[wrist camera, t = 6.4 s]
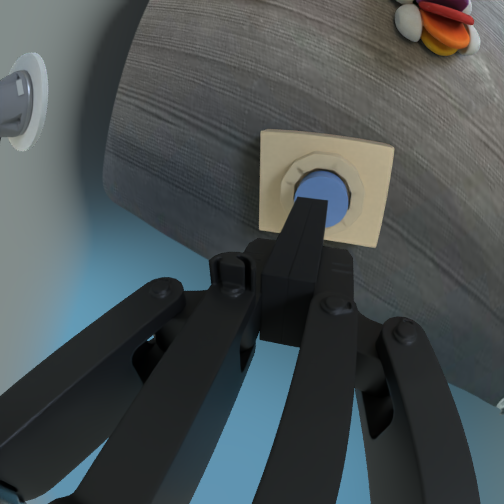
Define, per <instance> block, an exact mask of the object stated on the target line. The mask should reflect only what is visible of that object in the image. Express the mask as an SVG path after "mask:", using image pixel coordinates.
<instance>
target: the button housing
mask: <svg viewBox="0 0 504 504" xmlns="http://www.w3.org/2000/svg"><path fill="white" fill-rule="evenodd" d="M393 156H394V147H392V146H391V145H389V144H387V143H382V142H376V141H371V140H365V139H359V138H353V137H346V136H339V135H331V134H323V133H314V132H304V131H293V130H279V129H266V130H263V131H261V141H260V203H259V230H263V231H270V232H277V233H280V232H281V230H282V228H283V226H284V224H285V222H286V219H287V217H288V215H289V213H290V211H291V209H292V207H293V205H294V197H295V193H296V190H297V188H298V186H299V184H300V182H301V181H302V180H303V178H304V177H305V176H307V175H308V174H310V173H312V172H315V171H328V172H331V173H333V174H335V175H337V176H338V177H339V178H340V179H341V180H342V181H343V183H344V184H345V186H346V189H347V194H348V209H347V212H346V215H345V216H344V218H343V219H342V220H341V221H340V222H339V223H337V224H336V225H334V226H331V227H327V228H325V233H324V240H330V241H336V242H343V243H349V244H355V245H361V246H367V247H373V248H376V245H377V241H378V237H379V232H380V228H381V224H382V219H383V214H384V209H385V204H386V199H387V194H388V188H389V182H390V176H391V170H392V163H393Z"/></svg>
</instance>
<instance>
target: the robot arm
mask: <svg viewBox="0 0 504 504" xmlns="http://www.w3.org/2000/svg"><path fill="white" fill-rule="evenodd" d="M32 110H33V84H32V79H31V76H30V74H29V73H28V72H27V71H26V70H19V71H16V72H13V73H11V74H10V75H8V76H6V77H5V78H3V79H1V80H0V139H1V137H17V136H19V135H22V134H23V133H24V132H25V131H26V130H27V128H28V126H29V123H30V120H31V115H32ZM327 208H328V200H322V199H314V198H306V197H298V196H297V198H296V200H295V203H294V205H293V207H292V209H291V211H290V213H289V215H288V217H287V219H286V222H285V224H284V226H283V228H282V230H281V232H280V234H279V236H278V238H277V240H269V239H262V238H257V239H256V240H254V241H252V242H251V243H249V245H248V246H247V248H246V249H245V252H243V253H240V252H226V253H221V254H218V255H216V256H214V257H213V258H211V259H210V260H209V267H210V276H211V286H210V287H209V289H208V290H203V291H184V289H183V286H182V283H181V282H179V281H178V280H177V279H174V278H170V277H162V278H158V279H154V280H152V281H150V282H148V283H146V284H145V285H144V286H142V287H141V288H140V289H138V290H137V291H135V292H134V293H132V294H131V295H130V296H128V297H127V298H125V299H124V300H123V301H122V302H120V303H119V304H117V305H116V306H114V307H113V308H112V309H110V310H109V311H108V312H106V313H105V314H104V315H102V316H101V317H100V318H98V319H97V320H96V321H94V322H93V323H92V324H90V325H89V326H88V327H86V328H85V329H84V330H82V331H81V332H80V333H78V334H77V335H76V336H74V337H73V338H72V339H70V340H69V341H68V342H66V343H65V344H64V345H63V346H61V347H60V348H59V349H58V350H56V351H55V352H54V353H52V354H51V355H50V356H49V357H47V358H46V359H45V360H43V361H42V362H41V363H40V364H39V365H37V366H36V367H35V368H34V369H33V370H31V371H30V372H29V373H27V374H26V375H25V376H24V377H22V378H21V379H20V380H19V381H18V382H16V383H15V384H14V385H13V386H12V387H10V388H9V389H8V390H7V391H6V392H4V393H3V394H2V395H1V396H0V504H26V502H25V501H28V500H31V499H34V498H37V497H38V496H41V495H43V494H44V493H46V492H47V491H49V490H50V489H51V488H53V487H54V486H55V485H56V484H57V483H59V482H60V481H61V480H62V479H63V478H64V477H65V476H66V475H68V474H69V473H70V472H71V471H72V470H73V469H75V468H76V467H77V466H78V465H79V464H80V463H81V462H82V461H83V460H85V459H86V458H87V457H88V456H89V455H90V454H91V453H92V452H93V451H94V450H95V449H97V448H98V447H99V446H100V445H101V444H102V443H103V442H104V441H105V440H106V439H107V438H109V439H108V440H107V442H106V443H105V445H104V446H103V448H102V450H101V451H100V453H99V454H98V456H97V457H96V459H95V460H94V462H93V464H92V465H91V467H90V469H89V470H88V472H87V473H86V475H85V477H84V478H83V480H82V481H81V483H80V484H79V486H78V488H77V489H76V490H75V491H74V493H72V494H71V495H69V496H66V497H62V498H58V499H55V500H53V501H52V502H50V503H48V504H189V503H190V501H191V499H192V497H193V495H194V493H195V491H196V489H197V487H198V484H199V482H200V480H201V478H202V476H203V474H204V472H205V469H206V467H207V465H208V463H209V461H210V458H211V456H212V454H213V452H214V449H215V447H216V445H217V443H218V440H219V438H220V436H221V434H222V431H223V429H224V426H225V424H226V422H227V419H228V417H229V415H230V412H231V410H232V408H233V405H234V403H235V401H236V398H237V396H238V393H239V391H240V388H241V386H242V383H243V381H244V378H245V376H246V373H247V371H248V368H249V366H250V363H251V361H252V358H253V356H254V353H255V347H256V338H257V336H258V333H259V331H260V340H264V341H268V342H274V343H278V344H283V345H289V346H294V347H300V350H299V354H298V358H297V362H296V366H295V370H294V374H293V378H292V381H291V385H290V389H289V392H288V396H287V399H286V403H285V407H284V410H283V413H282V417H281V420H280V424H279V427H278V430H277V433H276V437H275V439H274V443H273V446H272V449H271V452H270V455H269V458H268V461H267V463H266V466H265V469H264V472H263V475H262V478H261V480H260V483H259V486H258V489H257V491H256V494H255V496H254V499H253V502H252V504H336V500H337V496H338V491H339V487H340V482H341V478H342V472H343V468H344V462H345V457H346V451H347V444H348V438H349V431H350V423H351V416H352V407H353V397H354V388H355V392H356V398H357V403H358V409H359V415H360V421H361V427H362V433H363V440H364V447H365V454H366V461H367V470H368V479H369V489H370V500H371V504H480V497H479V492H478V486H477V480H476V475H475V471H474V467H473V462H472V458H471V454H470V450H469V446H468V443H467V439H466V436H465V432H464V429H463V426H462V423H461V419H460V416H459V413H458V411H457V408H456V405H455V402H454V400H453V397H452V394H451V391H450V389H449V386H448V383H447V381H446V378H445V376H444V374H443V371H442V369H441V366H440V364H439V362H438V359H437V357H436V355H435V353H434V350H433V348H432V346H431V344H430V342H429V340H428V337H427V335H426V333H425V331H424V330H423V329H422V327H421V326H420V325H419V324H418V323H416V322H415V321H413V320H411V319H408V318H406V317H393V318H390V319H388V320H387V321H386V322H384V324H383V325H382V324H380V323H377V322H375V321H372V320H370V319H368V318H366V317H365V316H364V315H362V314H361V313H360V312H359V311H358V309H357V306H356V303H355V302H354V280H353V257H352V256H351V254H350V253H349V252H348V250H344V249H337V248H331V247H324V246H323V241H324V233H325V225H326V217H327ZM152 335H153V336H154V338H153V339H151V340H150V341H147V339H149V338H150V337H151V336H152Z"/></svg>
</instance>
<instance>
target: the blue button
mask: <svg viewBox="0 0 504 504" xmlns="http://www.w3.org/2000/svg"><path fill="white" fill-rule="evenodd" d="M297 196H298V197H306V198H314V199H322V200H328V208H327V217H326V225H325V228H327V227H331V226H334V225H336V224H337V223H339V222H340V221H341V220H342V219H343V218H344V216H345V215H346V212H347V209H348V194H347V189H346V186H345V184H344V183H343V181H342V180H341V179H340V178H339V177H338V176H337V175H335V174H333V173H331V172H328V171H315V172H312V173H310V174H308V175H307V176H305V177H304V178H303V180H302V181H301V182H300V184H299V186H298V188H297V190H296V193H295V197H294V203H295V200H296V198H297Z"/></svg>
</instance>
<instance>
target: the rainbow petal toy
mask: <svg viewBox="0 0 504 504" xmlns="http://www.w3.org/2000/svg"><path fill="white" fill-rule="evenodd" d="M396 1H397V2H399V3H401V4H402V6H400V7H399V8H398V9H397V10H396V12H395V24H396V27H397V29H398V30H399V32H400V33H401V34H402V35H403V36H404V37H406V38H407V39H409V40H411V41H413V42H417V41H418V40H419V39H420V38H421V40H422V41H423V43H424V44H425V45H426V47H427V48H429V49H430V50H431V51H432V52H434V53H436V54H438V55H442V56H448V55H452V54H454V53H455V52H457V51H458V52H459V53H460V54H462V55H466V56H469V55H473V54H475V53H476V52H477V51H478V50H479V48H480V37H479V35H478V32H477V31H476V29H475V28H474V27H473V26H472V25H473V24H474V20H473V18H472V17H471V16H469V14H470V13H471V10H472V4H471V1H470V0H396ZM416 5H418V6H419V8H420V9H419V8H418V7H417V6H416Z"/></svg>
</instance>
